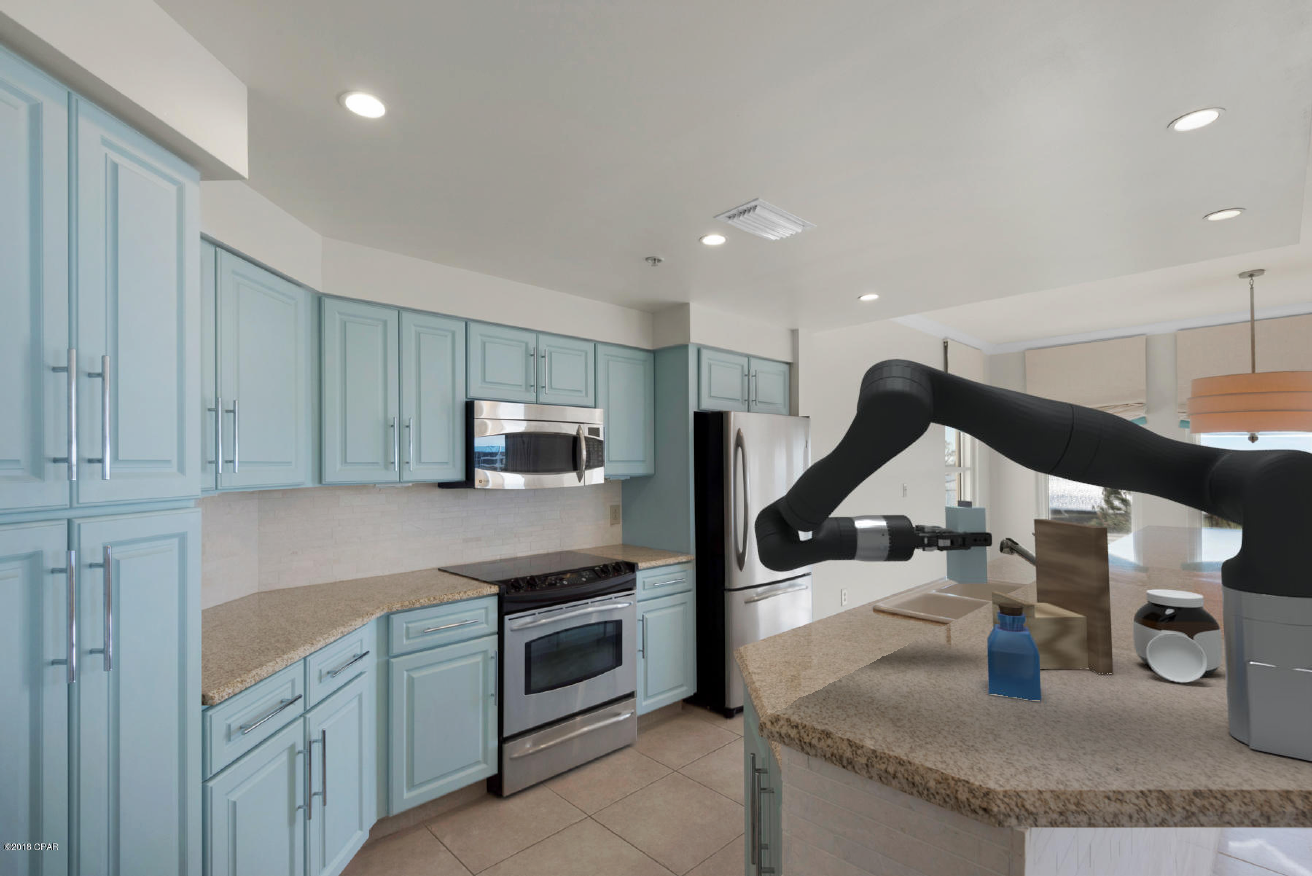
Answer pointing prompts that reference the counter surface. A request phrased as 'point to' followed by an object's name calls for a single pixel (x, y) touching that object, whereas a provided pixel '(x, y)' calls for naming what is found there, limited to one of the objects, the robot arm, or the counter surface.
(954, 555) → the pale blue tall block
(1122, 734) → the counter surface
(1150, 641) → the spread jar
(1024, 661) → the perfume bottle
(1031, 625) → the cleat board
